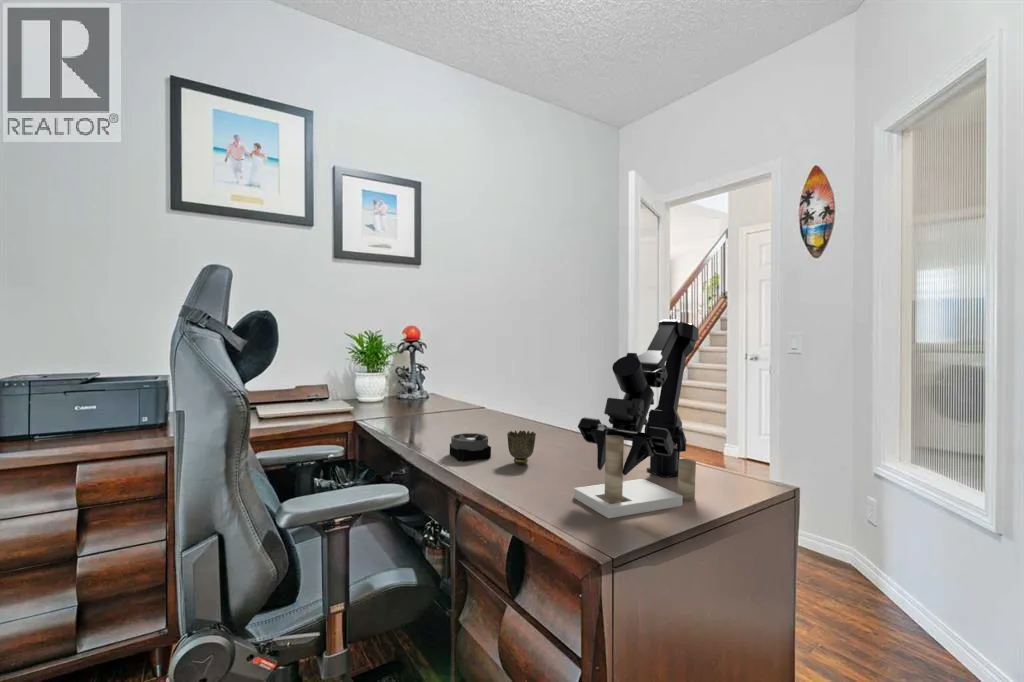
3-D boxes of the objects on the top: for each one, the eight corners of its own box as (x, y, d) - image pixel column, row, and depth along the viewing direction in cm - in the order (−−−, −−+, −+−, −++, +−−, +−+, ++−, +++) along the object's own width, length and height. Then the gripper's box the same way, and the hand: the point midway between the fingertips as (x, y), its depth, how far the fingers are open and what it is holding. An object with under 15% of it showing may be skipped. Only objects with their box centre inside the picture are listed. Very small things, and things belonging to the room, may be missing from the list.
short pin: (686, 495, 103) (687, 457, 103) (698, 500, 100) (699, 461, 100) (673, 496, 102) (675, 459, 102) (685, 502, 99) (687, 463, 99)
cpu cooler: (458, 441, 124) (446, 433, 133) (458, 463, 124) (445, 454, 133) (495, 438, 128) (481, 431, 137) (494, 460, 128) (480, 451, 137)
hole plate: (642, 487, 107) (642, 478, 107) (682, 505, 97) (682, 495, 96) (573, 497, 100) (573, 488, 100) (608, 518, 89) (608, 507, 89)
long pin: (609, 503, 97) (610, 434, 96) (624, 507, 95) (626, 437, 94) (601, 508, 94) (602, 437, 94) (617, 512, 92) (619, 439, 92)
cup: (508, 458, 129) (509, 429, 129) (536, 460, 128) (536, 430, 128) (504, 466, 121) (505, 434, 121) (533, 468, 120) (534, 436, 120)
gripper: (583, 379, 102) (555, 439, 94) (671, 387, 91) (648, 456, 83) (598, 411, 109) (573, 471, 100) (682, 422, 98) (662, 490, 89)
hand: (611, 471), depth 93 cm, fingers open, 5 cm apart
